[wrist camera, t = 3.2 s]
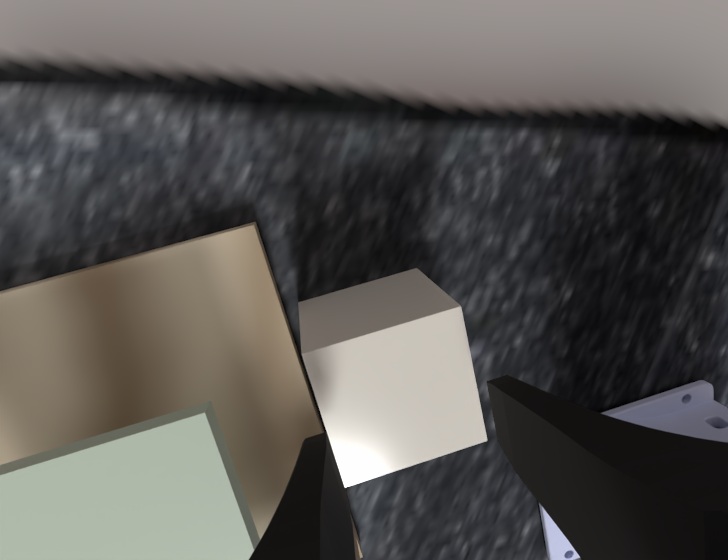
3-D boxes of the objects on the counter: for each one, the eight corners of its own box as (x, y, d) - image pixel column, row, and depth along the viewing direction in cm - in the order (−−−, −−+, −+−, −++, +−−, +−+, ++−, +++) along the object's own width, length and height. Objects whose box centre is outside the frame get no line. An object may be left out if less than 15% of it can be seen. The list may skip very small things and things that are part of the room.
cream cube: (416, 267, 18) (461, 306, 14) (439, 372, 20) (487, 440, 15) (298, 301, 18) (301, 354, 13) (331, 406, 19) (344, 487, 15)
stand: (255, 221, 17) (229, 269, 9) (360, 542, 21) (395, 736, 14) (-139, 328, 15) (-505, 475, 8) (64, 643, 20) (-60, 910, 13)
